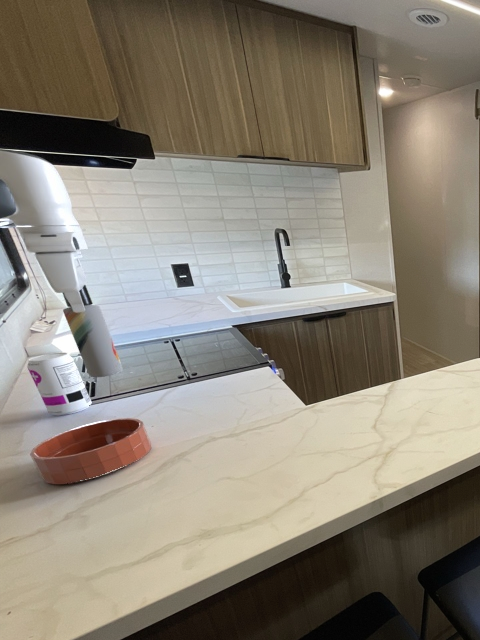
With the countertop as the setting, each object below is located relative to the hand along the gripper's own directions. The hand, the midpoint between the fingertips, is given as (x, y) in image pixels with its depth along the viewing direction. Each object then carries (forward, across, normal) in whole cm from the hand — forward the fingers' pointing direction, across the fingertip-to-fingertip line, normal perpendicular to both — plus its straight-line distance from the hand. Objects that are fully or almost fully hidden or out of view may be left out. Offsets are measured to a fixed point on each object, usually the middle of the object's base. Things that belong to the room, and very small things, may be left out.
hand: (81, 309), depth 86 cm
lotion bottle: (+15, 0, 0) cm, 15 cm away
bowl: (+29, +16, -4) cm, 33 cm away
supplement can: (+29, -26, -12) cm, 41 cm away
